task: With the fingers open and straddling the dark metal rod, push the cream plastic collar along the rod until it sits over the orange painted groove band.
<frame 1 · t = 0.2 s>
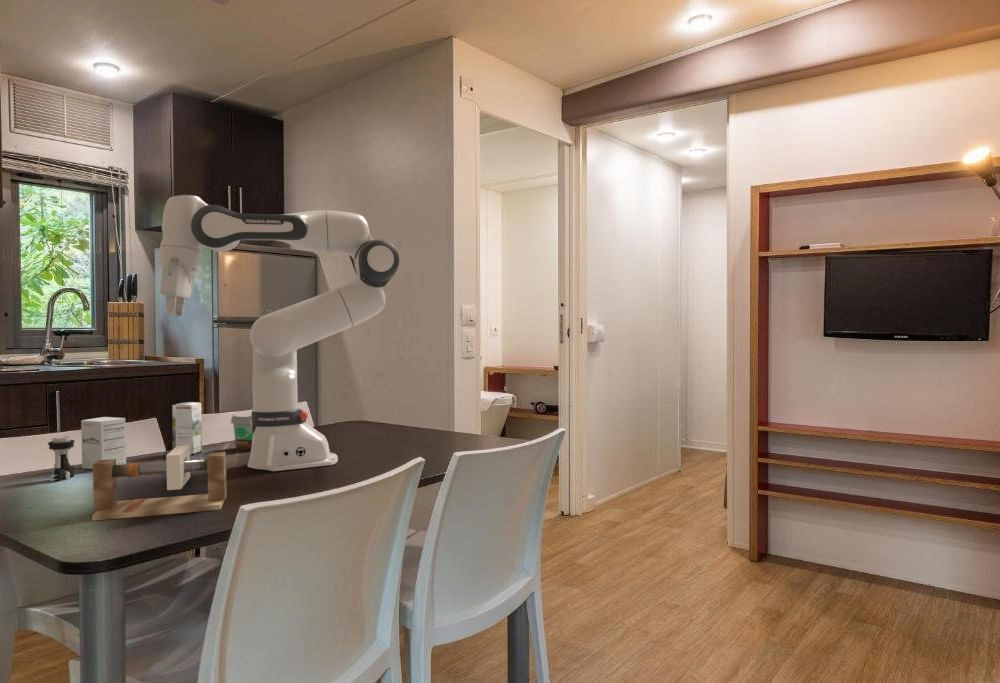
hand: (174, 315, 164), 39 cm above the table, tool pointing down, fingers open, 8 cm apart
collar: (178, 466, 131), point 8 cm above the table, slide at 0.0 cm
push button: (60, 480, 158), on the table
rod stand: (163, 508, 131), on the table
syrup box: (187, 454, 189), on the table
supplement box: (104, 467, 172), on the table
food container: (248, 450, 194), on the table
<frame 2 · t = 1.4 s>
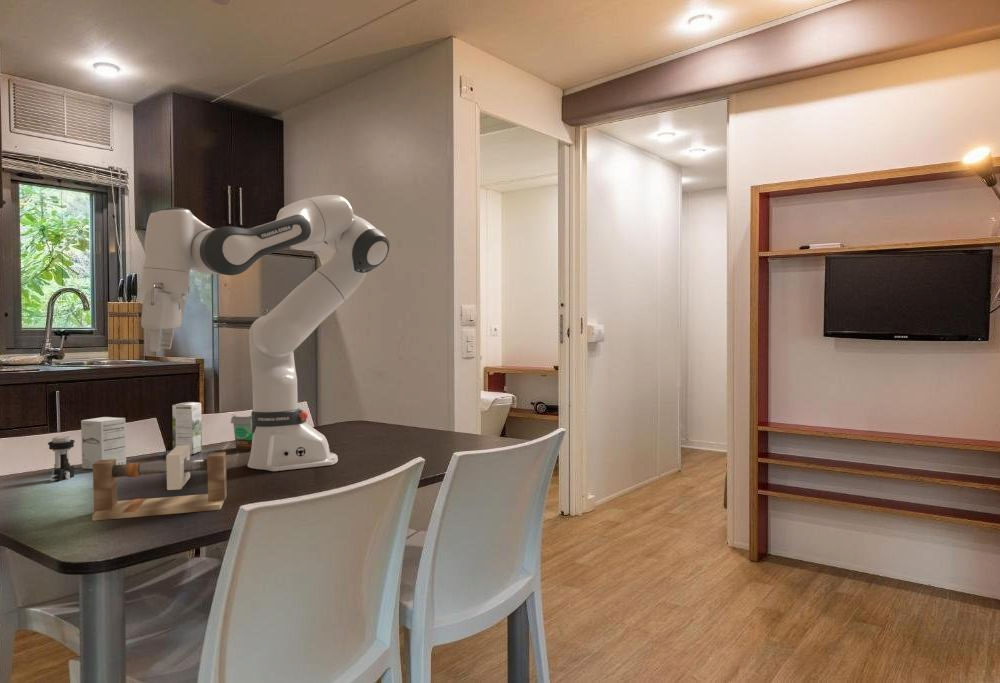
hand: (160, 350, 138), 31 cm above the table, tool pointing down, fingers open, 8 cm apart
nothing on the table moved.
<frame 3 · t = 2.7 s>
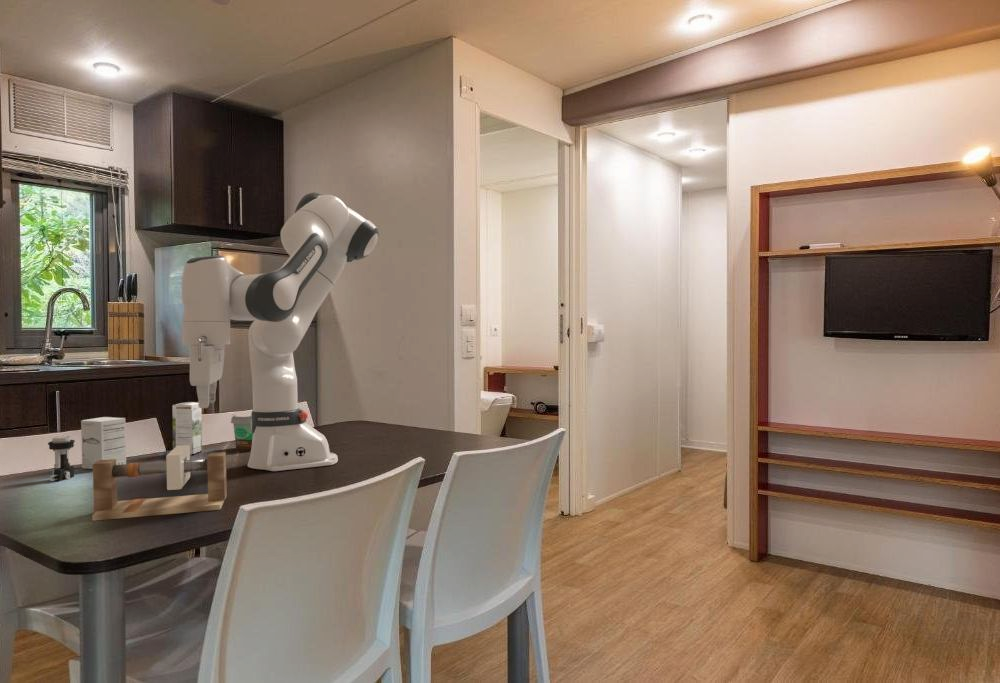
hand: (207, 405, 132), 20 cm above the table, tool pointing down, fingers open, 8 cm apart
nothing on the table moved.
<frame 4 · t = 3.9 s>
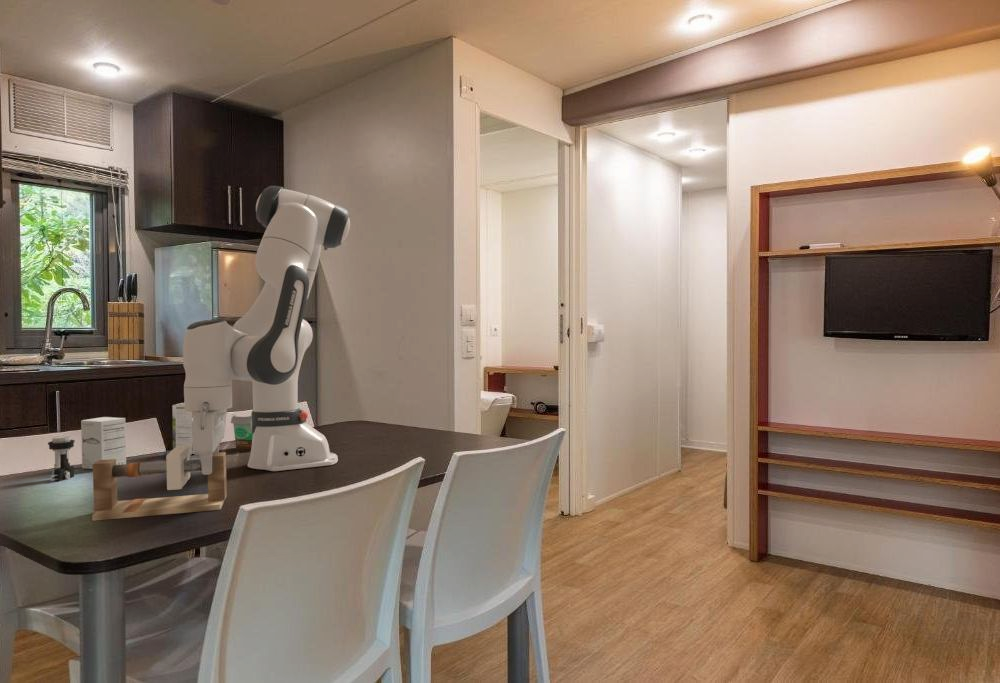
hand: (210, 468, 133), 7 cm above the table, tool pointing down, fingers open, 8 cm apart
nothing on the table moved.
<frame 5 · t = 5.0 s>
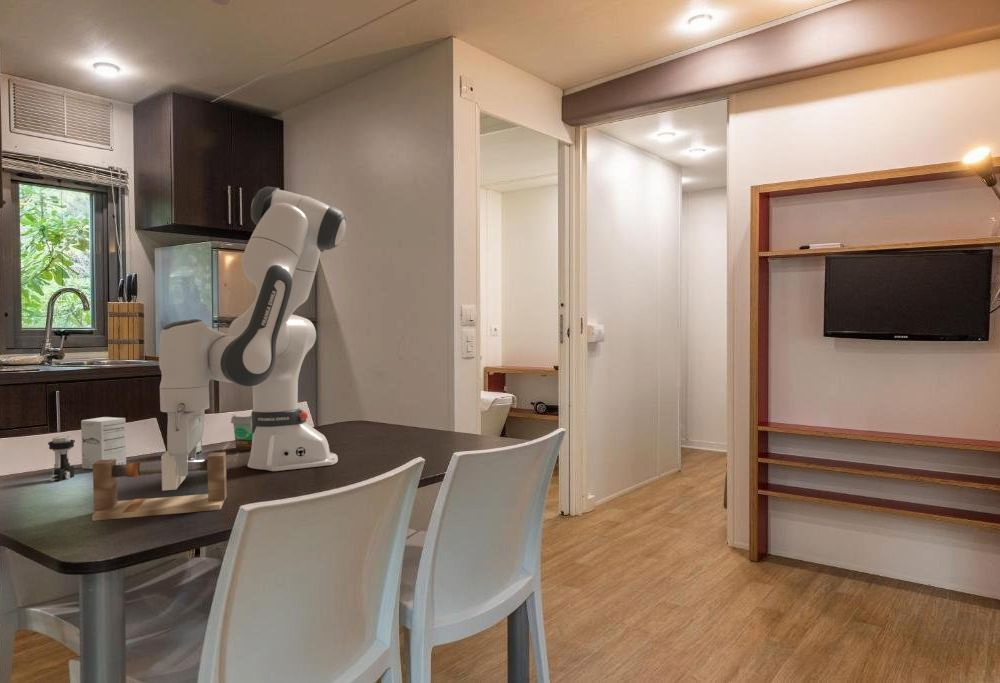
hand: (187, 470, 132), 7 cm above the table, tool pointing down, fingers open, 8 cm apart
collar: (174, 467, 131), point 8 cm above the table, slide at 0.9 cm, touching gripper
everything else where it was.
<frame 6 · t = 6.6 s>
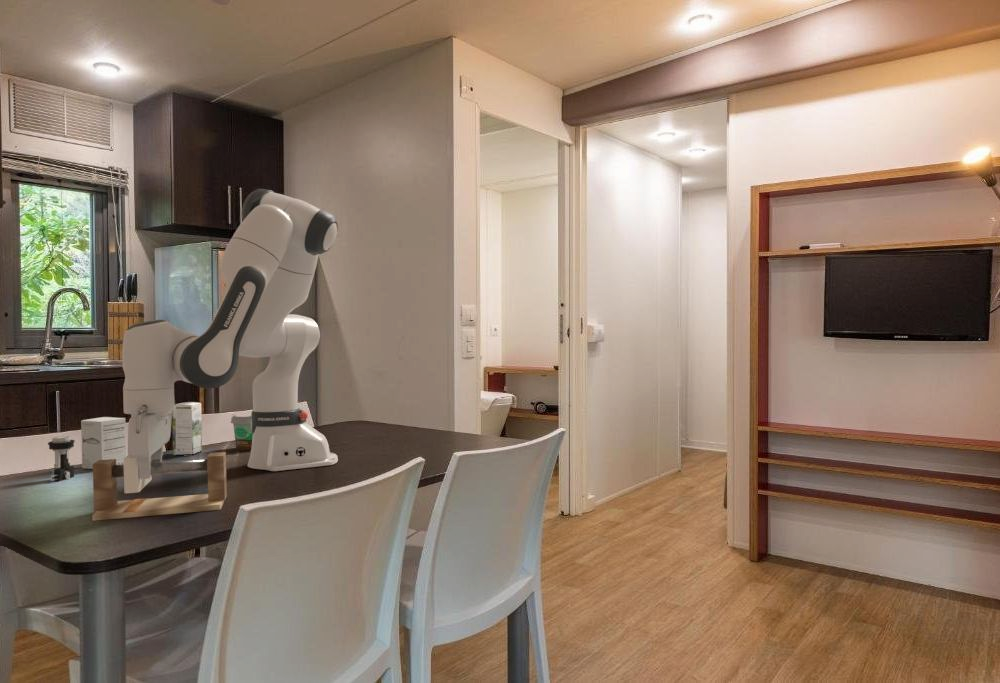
hand: (151, 473, 130), 7 cm above the table, tool pointing down
collar: (138, 469, 129), point 8 cm above the table, slide at 7.3 cm, touching gripper
everything else where it was.
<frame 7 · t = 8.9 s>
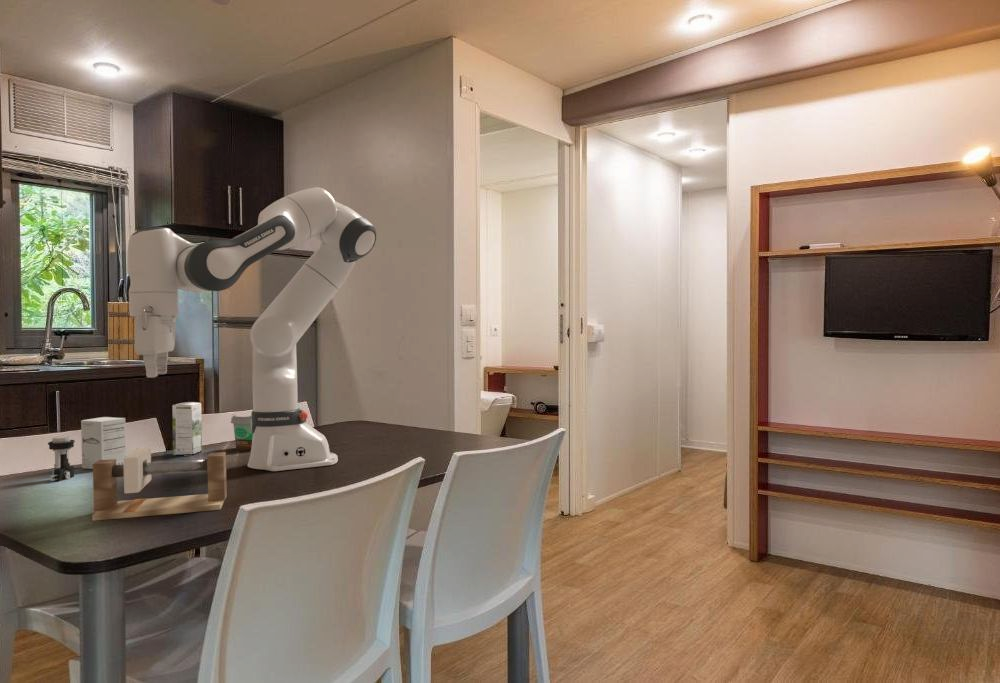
hand: (157, 375, 134), 26 cm above the table, tool pointing down, fingers open, 8 cm apart
collar: (138, 469, 129), point 8 cm above the table, slide at 7.3 cm
everything else where it was.
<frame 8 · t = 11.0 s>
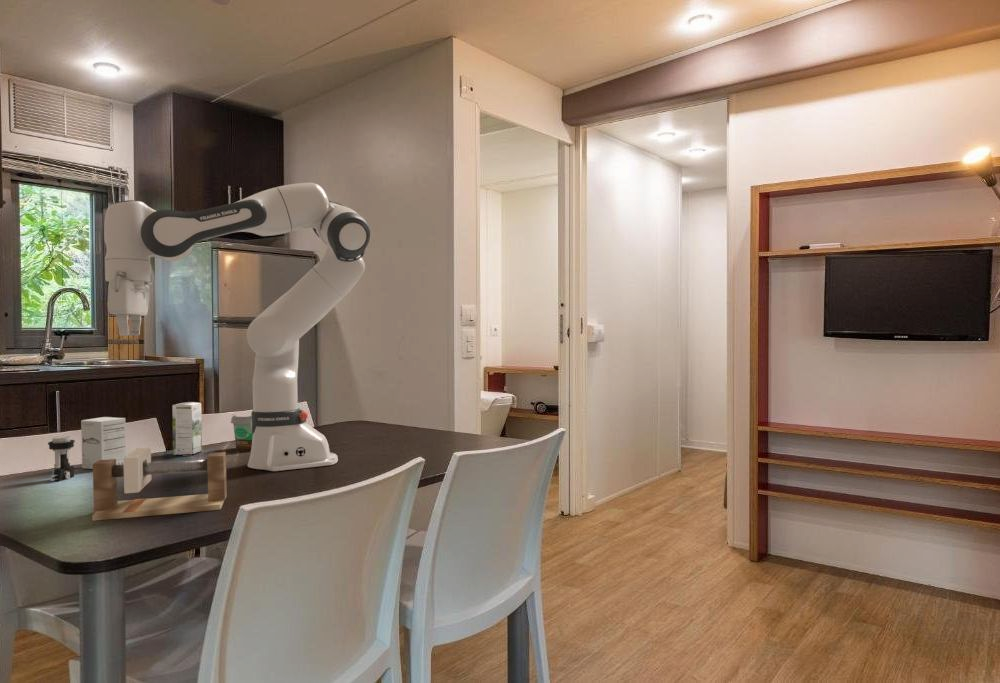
hand: (129, 335, 148), 34 cm above the table, tool pointing down, fingers open, 8 cm apart
nothing on the table moved.
at the end: collar slide at 7.3 cm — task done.
